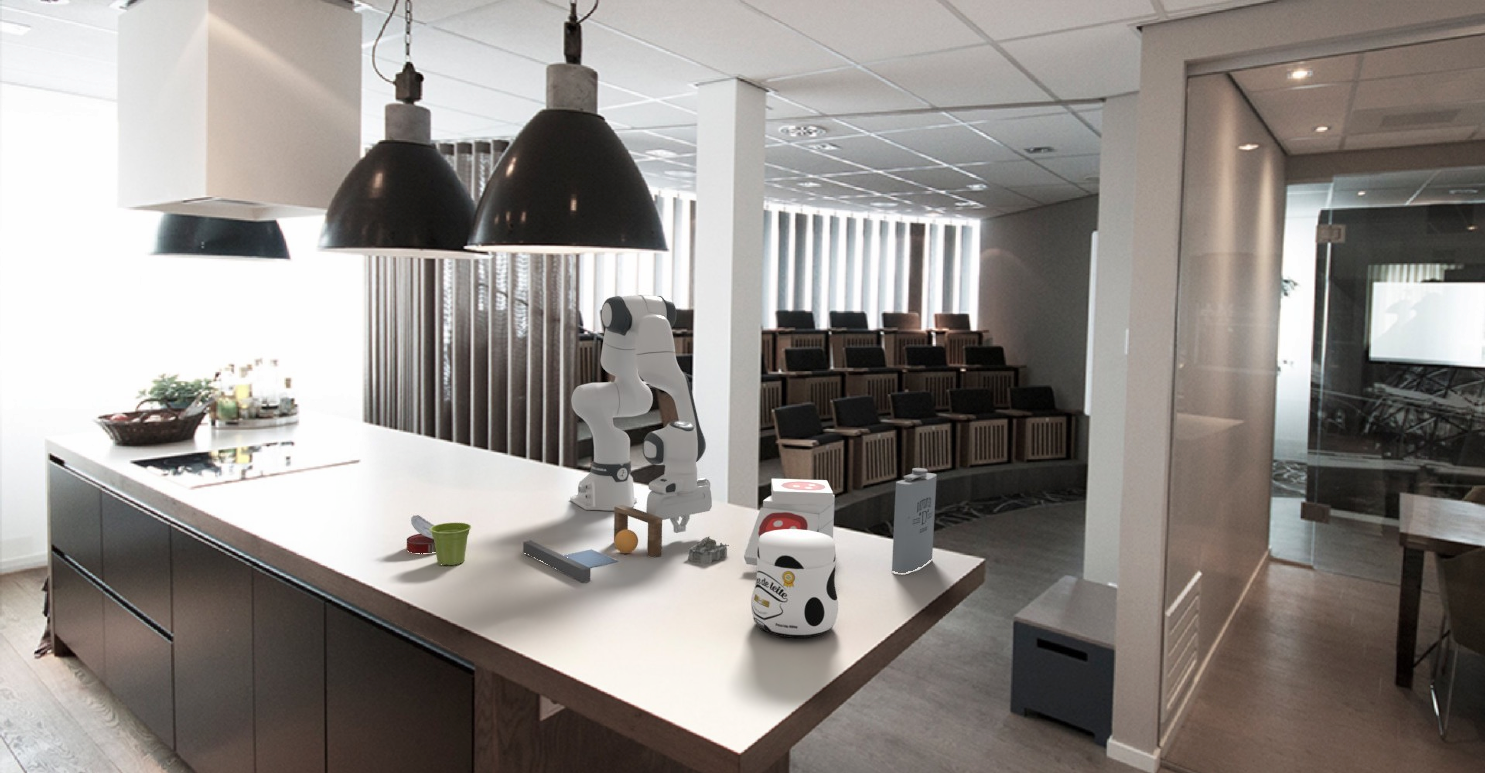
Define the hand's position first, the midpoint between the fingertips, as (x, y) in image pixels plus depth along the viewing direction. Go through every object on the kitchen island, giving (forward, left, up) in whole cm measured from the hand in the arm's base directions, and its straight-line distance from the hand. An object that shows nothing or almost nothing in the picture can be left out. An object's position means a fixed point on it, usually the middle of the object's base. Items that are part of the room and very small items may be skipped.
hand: (679, 531), depth 222 cm
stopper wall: (0, -38, -2) cm, 38 cm away
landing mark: (0, -30, -2) cm, 30 cm away
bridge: (0, -14, -2) cm, 14 cm away
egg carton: (+16, -4, -3) cm, 17 cm away
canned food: (-32, -56, -3) cm, 65 cm away
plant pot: (-18, -56, -2) cm, 59 cm away
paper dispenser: (+31, +12, -2) cm, 33 cm away
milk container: (+62, -20, -2) cm, 65 cm away
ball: (+1, -18, +1) cm, 18 cm away
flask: (+54, +32, -2) cm, 63 cm away
